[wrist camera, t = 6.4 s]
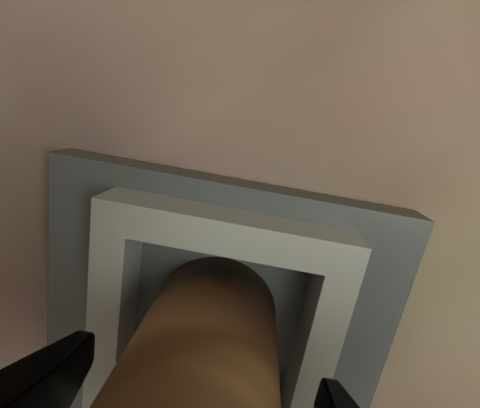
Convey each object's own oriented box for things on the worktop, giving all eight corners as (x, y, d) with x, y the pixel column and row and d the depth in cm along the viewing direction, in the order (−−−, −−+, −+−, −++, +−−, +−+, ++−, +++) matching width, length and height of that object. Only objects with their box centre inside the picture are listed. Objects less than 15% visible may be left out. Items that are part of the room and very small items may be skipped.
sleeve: (289, 266, 10) (340, 548, 4) (265, 371, 11) (268, 741, 5) (163, 243, 10) (-25, 472, 4) (151, 349, 11) (-10, 677, 5)
